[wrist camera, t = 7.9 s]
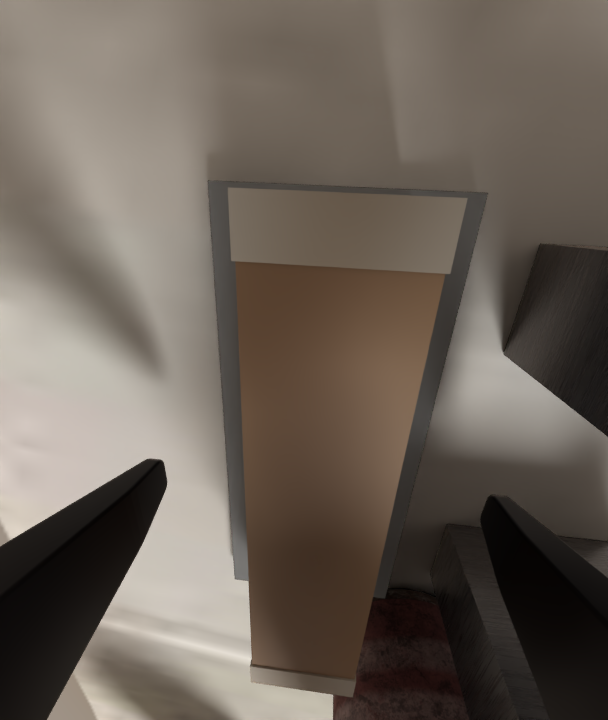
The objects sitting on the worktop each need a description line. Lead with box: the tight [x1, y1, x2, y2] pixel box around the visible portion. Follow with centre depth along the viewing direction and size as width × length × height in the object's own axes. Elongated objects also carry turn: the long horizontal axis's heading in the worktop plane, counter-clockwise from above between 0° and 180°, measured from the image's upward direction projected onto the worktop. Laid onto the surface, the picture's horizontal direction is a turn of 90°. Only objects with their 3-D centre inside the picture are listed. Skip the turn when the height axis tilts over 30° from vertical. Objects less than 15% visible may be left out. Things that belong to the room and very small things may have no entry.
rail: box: [228, 187, 468, 697], centre depth 9 cm, size 3×14×3 cm, turn 178°
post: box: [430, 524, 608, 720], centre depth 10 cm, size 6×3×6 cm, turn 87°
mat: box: [208, 180, 488, 598], centre depth 10 cm, size 6×15×1 cm, turn 177°
